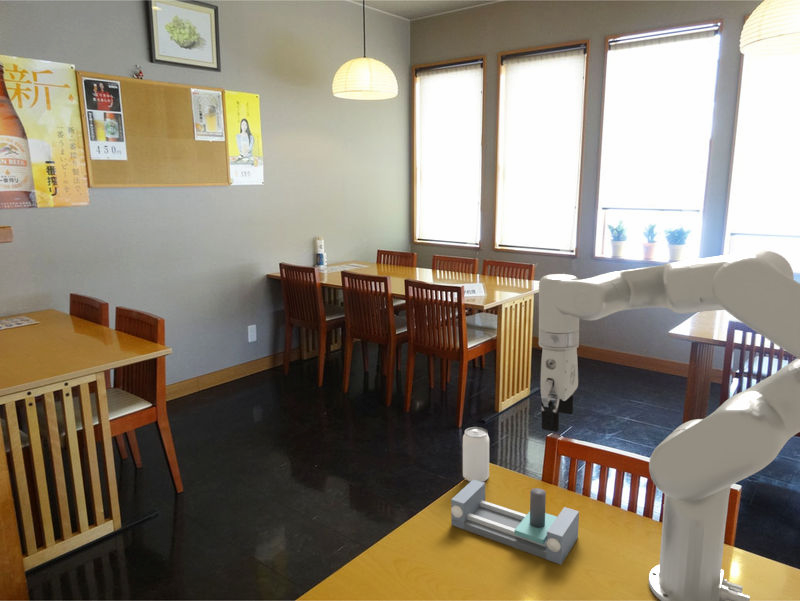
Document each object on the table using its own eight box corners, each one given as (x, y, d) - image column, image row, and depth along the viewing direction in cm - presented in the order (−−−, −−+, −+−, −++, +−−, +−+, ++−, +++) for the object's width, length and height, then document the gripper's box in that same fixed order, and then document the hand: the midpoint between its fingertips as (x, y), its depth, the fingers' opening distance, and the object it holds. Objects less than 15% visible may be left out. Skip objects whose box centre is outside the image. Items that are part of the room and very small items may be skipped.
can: (488, 470, 144) (488, 426, 141) (489, 483, 138) (490, 438, 135) (462, 470, 145) (462, 426, 142) (462, 483, 138) (462, 437, 136)
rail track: (577, 537, 116) (578, 511, 115) (560, 565, 108) (561, 537, 106) (473, 503, 129) (473, 479, 128) (450, 525, 121) (450, 500, 120)
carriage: (559, 521, 117) (560, 486, 116) (543, 544, 110) (544, 507, 108) (531, 512, 120) (532, 478, 119) (514, 534, 113) (515, 498, 112)
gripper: (565, 351, 101) (564, 441, 104) (589, 330, 115) (588, 409, 118) (524, 347, 105) (524, 433, 108) (553, 326, 119) (552, 404, 122)
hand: (557, 421), depth 113 cm, fingers open, 9 cm apart
